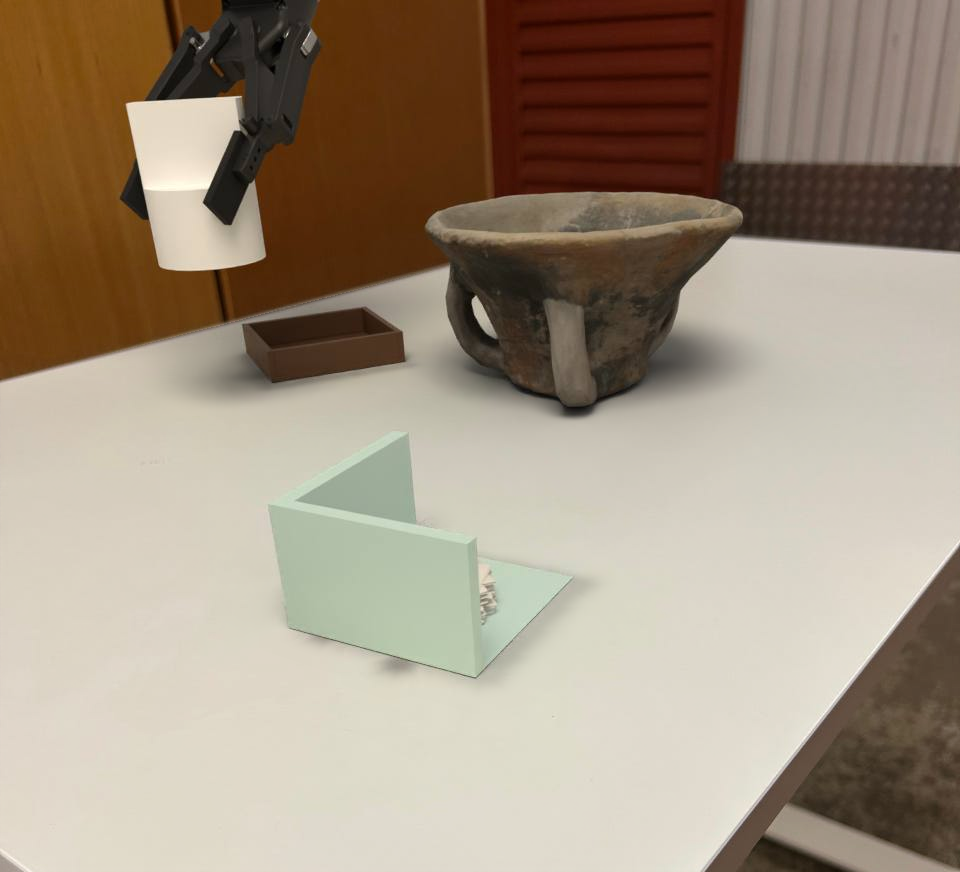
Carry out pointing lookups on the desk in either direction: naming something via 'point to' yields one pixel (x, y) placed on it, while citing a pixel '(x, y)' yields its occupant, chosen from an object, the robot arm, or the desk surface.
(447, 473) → the desk surface
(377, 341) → the tray
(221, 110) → the base with upright slab
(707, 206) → the bowl
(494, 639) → the l-shaped corner panel
